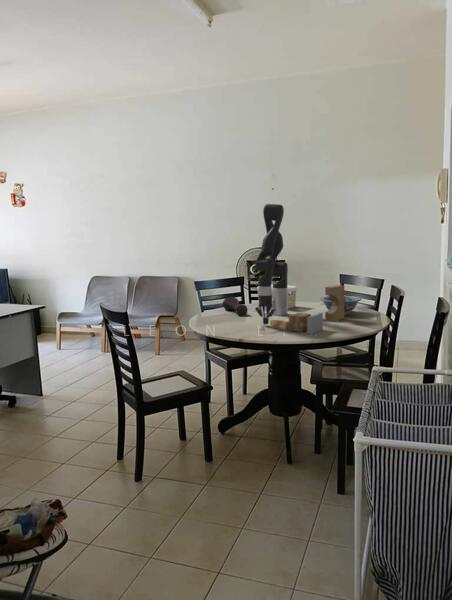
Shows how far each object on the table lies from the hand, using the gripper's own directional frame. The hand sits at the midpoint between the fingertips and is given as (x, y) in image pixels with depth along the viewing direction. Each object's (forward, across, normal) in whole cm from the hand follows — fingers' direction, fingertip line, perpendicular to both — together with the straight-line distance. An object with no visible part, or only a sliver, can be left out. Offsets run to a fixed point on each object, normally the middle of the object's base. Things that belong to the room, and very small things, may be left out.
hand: (265, 324), depth 273 cm
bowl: (+1, +22, +54) cm, 58 cm away
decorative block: (+1, +27, +34) cm, 43 cm away
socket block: (+1, +22, 0) cm, 22 cm away
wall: (+1, +31, 0) cm, 31 cm away
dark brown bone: (+2, -40, +28) cm, 49 cm away
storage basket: (+1, -26, +57) cm, 63 cm away
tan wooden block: (+1, +9, 0) cm, 9 cm away
